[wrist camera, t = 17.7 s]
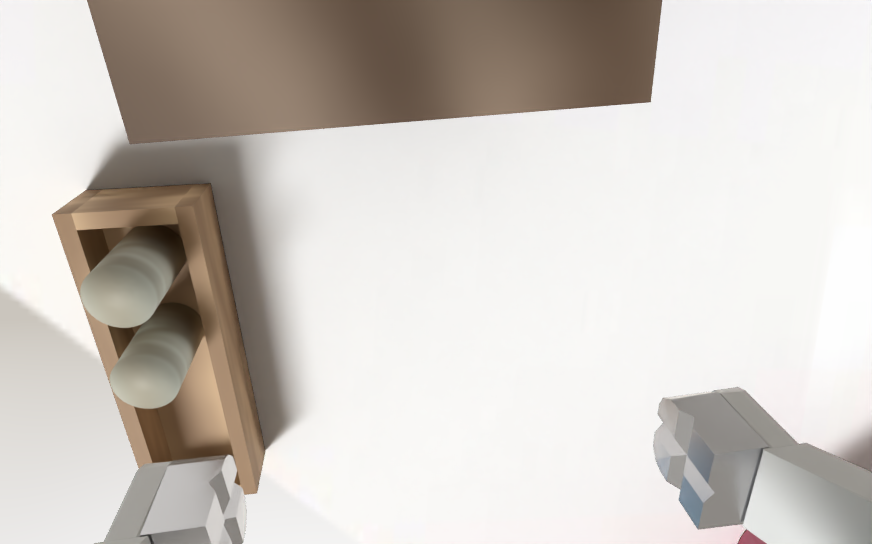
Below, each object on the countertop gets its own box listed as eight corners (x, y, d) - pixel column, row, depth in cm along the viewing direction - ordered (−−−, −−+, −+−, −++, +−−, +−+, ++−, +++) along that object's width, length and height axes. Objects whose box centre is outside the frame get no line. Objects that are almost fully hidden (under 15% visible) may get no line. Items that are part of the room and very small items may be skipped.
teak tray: (210, 183, 29) (175, 227, 23) (265, 451, 36) (249, 531, 31) (85, 190, 28) (19, 237, 22) (169, 461, 36) (135, 545, 30)
